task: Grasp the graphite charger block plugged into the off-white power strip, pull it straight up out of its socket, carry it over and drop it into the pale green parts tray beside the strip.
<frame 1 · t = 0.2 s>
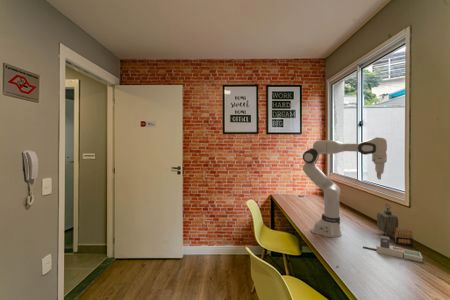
hand: (378, 178, 168), 47 cm above the table, fingers open, 8 cm apart
ammunition clip: (403, 244, 167), on the table
power strip: (389, 253, 153), on the table
charger: (384, 246, 155), point 4 cm above the table, touching power strip
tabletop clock: (386, 235, 182), on the table
parts tray: (411, 257, 148), on the table
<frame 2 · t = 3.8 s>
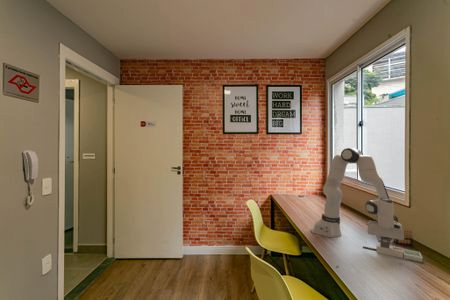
hand: (384, 243, 155), 6 cm above the table, fingers closed on charger, 5 cm apart
charger: (384, 246, 155), point 4 cm above the table, touching gripper, power strip
everything else where it was.
when the fingers open (7 cm above the table, at t = 9.4 s): charger drops 1 cm, resting on parts tray.
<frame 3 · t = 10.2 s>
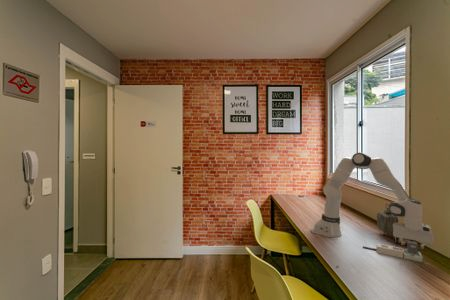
hand: (412, 246, 148), 7 cm above the table, fingers open, 8 cm apart
charger: (412, 251, 148), point 4 cm above the table, touching parts tray
everything else where it was.
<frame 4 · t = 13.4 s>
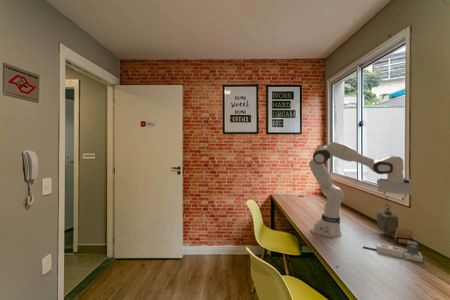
hand: (394, 199, 160), 34 cm above the table, fingers open, 8 cm apart
nothing on the table moved.
at the end: charger inside the target area on the parts tray (0.0 cm from its centre), point 3.5 cm above the parts tray's base; charger touching parts tray; the gripper is holding nothing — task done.
